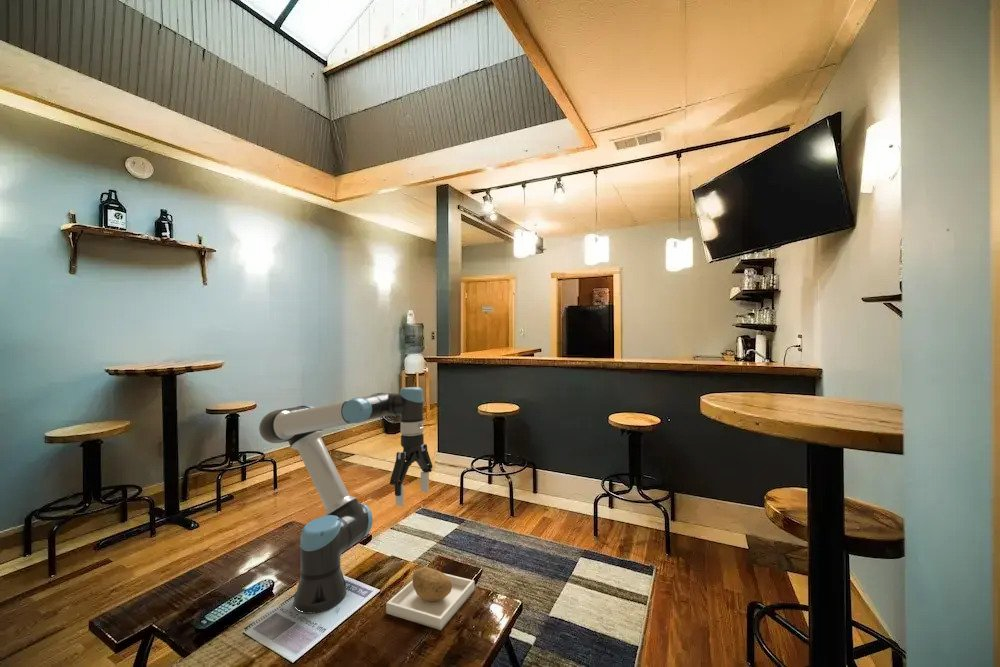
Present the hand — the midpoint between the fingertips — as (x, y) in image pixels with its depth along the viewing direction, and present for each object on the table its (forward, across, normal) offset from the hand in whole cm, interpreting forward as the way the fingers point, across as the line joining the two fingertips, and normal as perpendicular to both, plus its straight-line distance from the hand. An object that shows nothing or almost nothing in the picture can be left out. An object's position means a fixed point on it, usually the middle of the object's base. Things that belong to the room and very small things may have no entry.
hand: (412, 498), depth 131 cm
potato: (+28, -4, -10) cm, 30 cm away
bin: (+29, -4, -10) cm, 31 cm away
